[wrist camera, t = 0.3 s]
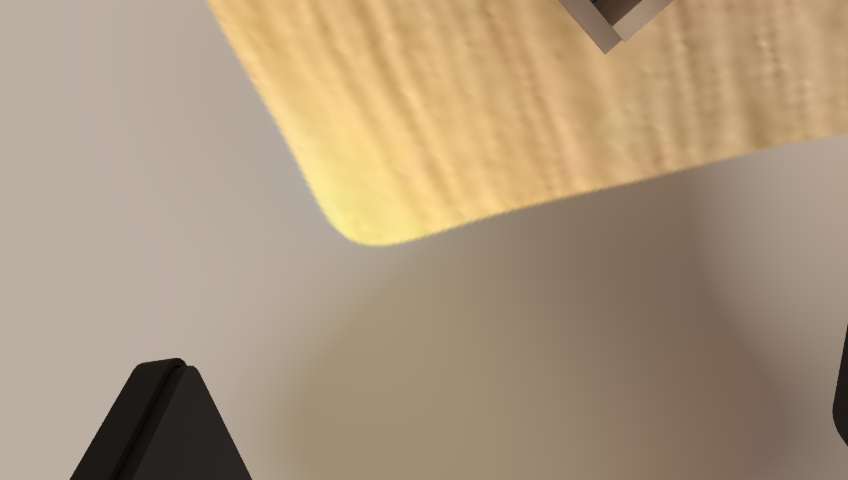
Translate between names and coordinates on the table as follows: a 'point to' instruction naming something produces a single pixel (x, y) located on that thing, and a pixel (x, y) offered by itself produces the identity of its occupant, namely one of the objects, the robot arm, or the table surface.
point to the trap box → (613, 18)
